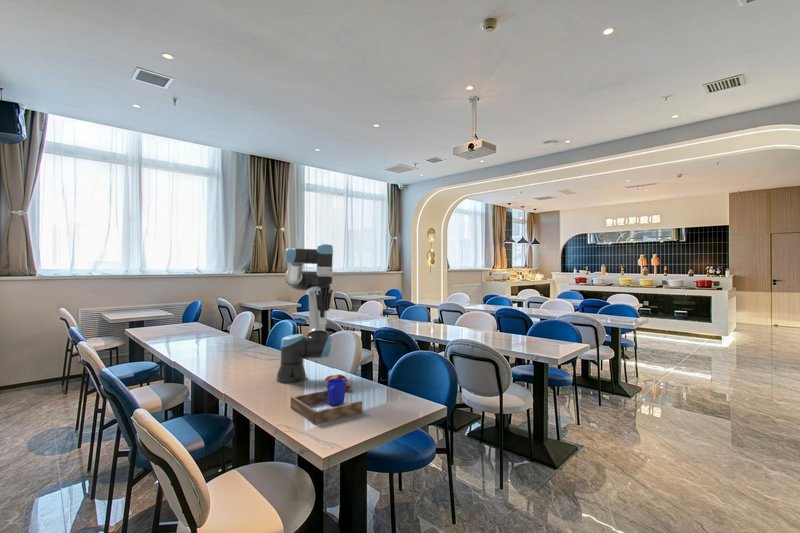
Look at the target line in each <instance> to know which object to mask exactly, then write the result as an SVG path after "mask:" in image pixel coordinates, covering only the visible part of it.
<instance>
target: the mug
mask: <svg viewBox="0 0 800 533" xmlns="http://www.w3.org/2000/svg"><path fill="white" fill-rule="evenodd" d="M326 387H327V389H326V390H328V401H327V402H328V405H330V406H332V407H336V406H341V405H344V402H345V397H346V391H345V388H346V380H344V379H331V380H328V381H327V386H326Z"/></svg>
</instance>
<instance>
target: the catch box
mask: <svg viewBox="0 0 800 533" xmlns="http://www.w3.org/2000/svg"><path fill="white" fill-rule="evenodd" d="M324 402H328V389H324V390H320V391H315V392H311V393H305V394H300V395H296V396H295V395H294V396H291V397H290V408H291V410H293V411H295V412H296V413H297V414H299V415H300V416H301V417H303V418H305V419H306V420H307V421H309V422H310V423H311V424H313V425H320V424H323V423H327V422H330V421H335V420H339V419H341V418H347V417H350V416H355V415H358V414H362V413H363V401H362V400H358V401H355V402H349V403H346V404H342V405H340V406H332V407H329V408H324V409H319V410H316V409H314V408H313V407H311V406H310V405H314V404H320V403H324Z"/></svg>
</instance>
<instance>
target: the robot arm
mask: <svg viewBox="0 0 800 533" xmlns="http://www.w3.org/2000/svg"><path fill="white" fill-rule="evenodd" d="M284 252H285V254H284V255H285V256H284V261H285V263H286V264H288V265H287V270H286V272H285V274H284V279H285V283H286V284H287V286H289V287H290V288H292V289H294V290H296V291H305V294H306V295H307V296H308V314H309V315H308V316H309V317H308V318H309V319H308V320H309V331H308V333H307V335H306V336H304V333H303V334H302V333H297V334H296V333H295V334H290V335H286V336H284V337H282V339H281V341H280V365H279V367H278V368H279V369H278V371H277V374H276V381H277V382H278V383H283V384H285V383H286V384H288V383H289V384H293V383H299V382H303V381H305V380H306V379H307V373H306V370H305V366H304V360H308V359H325V358H328V357H329V356H330V354H331V349H332V340H333V339H332V336H331V335H329V332H328V331H327V330H326V325H327V319H328V318H327V317H328V316H327V315H328V311H330V308H331V302H332V295H333V292H334V291H333V289H331V285H332V284H333V276H332V275H333V258H334V257H333V255H334V254H333V253H334V247H333V245H332V244H327V243H326V244H323V243H320V244H318V245H317V248H316V249H315V248H313V249H312V248H297V247H296V248H295V247H293V248H292V247H291V248H286V249H285V251H284ZM305 264H310V265H316V271H315V270H314V271H307V270H304V271H303V266H304V265H305Z"/></svg>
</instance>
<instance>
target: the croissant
mask: <svg viewBox="0 0 800 533" xmlns="http://www.w3.org/2000/svg"><path fill="white" fill-rule="evenodd" d="M331 379H344V380H346V388H345V392H346V391H348V390H350V389H351V385H350V383H349V381H348V379H347V377H346V376H345V375H343V374H335V375H333V374H331V375H328V376H326V378H324V385H325V386H326V387H327V381H328V380H331Z"/></svg>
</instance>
